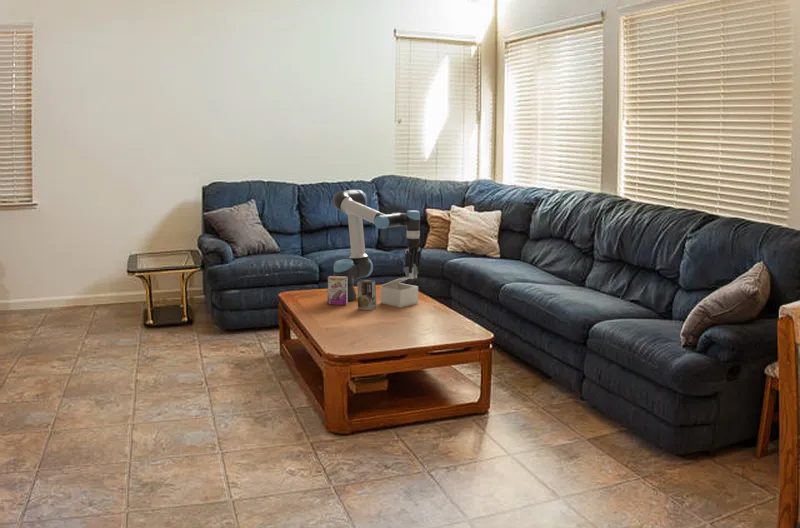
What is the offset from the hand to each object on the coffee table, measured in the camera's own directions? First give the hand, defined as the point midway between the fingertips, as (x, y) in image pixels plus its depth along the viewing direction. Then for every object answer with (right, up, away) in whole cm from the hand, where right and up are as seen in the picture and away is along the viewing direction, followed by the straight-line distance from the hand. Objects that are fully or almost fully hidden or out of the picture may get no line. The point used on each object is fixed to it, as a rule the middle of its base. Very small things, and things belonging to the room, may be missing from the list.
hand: (413, 278), depth 446 cm
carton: (-8, -15, +10) cm, 20 cm away
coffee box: (-26, -18, -3) cm, 32 cm away
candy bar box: (-44, -16, +8) cm, 47 cm away
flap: (-6, -1, +6) cm, 8 cm away
